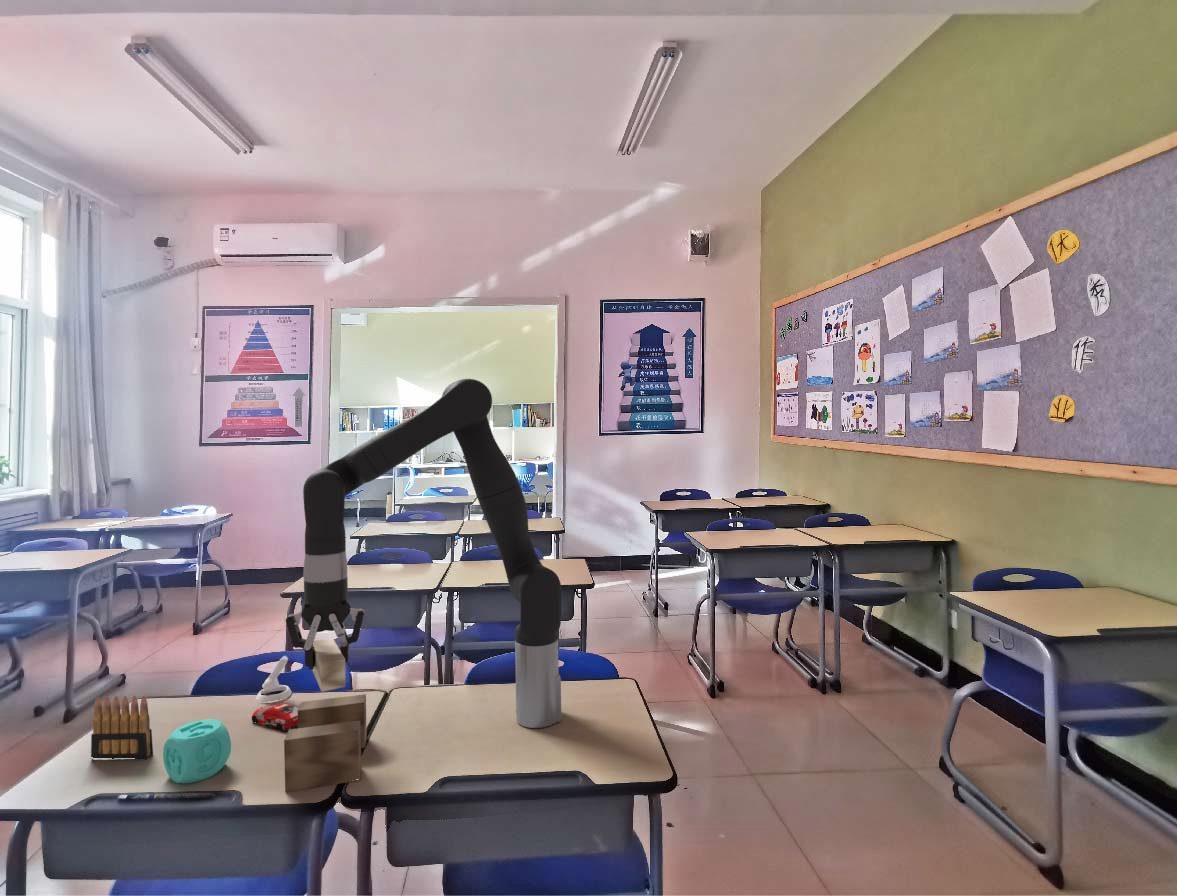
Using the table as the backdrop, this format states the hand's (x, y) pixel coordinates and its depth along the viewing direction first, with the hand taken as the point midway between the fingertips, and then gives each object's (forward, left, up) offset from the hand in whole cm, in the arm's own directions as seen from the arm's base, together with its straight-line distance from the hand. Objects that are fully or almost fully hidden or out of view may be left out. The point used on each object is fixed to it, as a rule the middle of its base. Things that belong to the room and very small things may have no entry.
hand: (327, 666), depth 114 cm
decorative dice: (+23, -4, -19) cm, 30 cm away
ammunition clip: (+39, -14, -19) cm, 45 cm away
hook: (+17, -36, -19) cm, 44 cm away
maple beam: (0, 0, -2) cm, 2 cm away
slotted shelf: (0, 0, -18) cm, 18 cm away
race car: (+13, -21, -19) cm, 31 cm away
